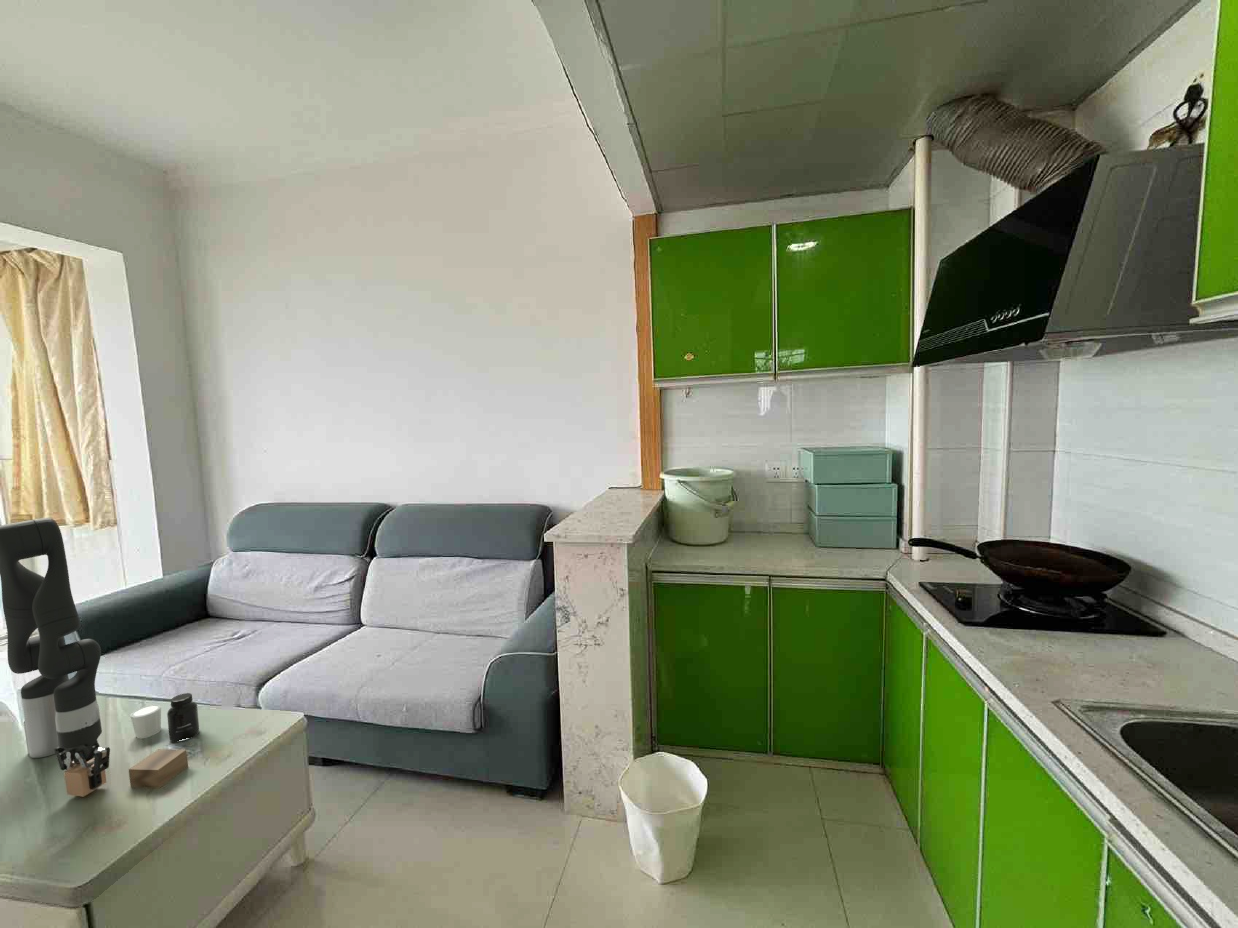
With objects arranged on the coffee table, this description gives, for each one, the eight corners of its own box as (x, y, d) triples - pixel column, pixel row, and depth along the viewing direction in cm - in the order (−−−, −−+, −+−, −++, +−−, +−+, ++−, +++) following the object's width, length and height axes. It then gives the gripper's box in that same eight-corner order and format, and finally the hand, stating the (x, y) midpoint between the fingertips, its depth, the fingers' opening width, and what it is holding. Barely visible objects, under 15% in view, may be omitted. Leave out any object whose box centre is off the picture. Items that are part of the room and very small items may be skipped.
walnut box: (130, 787, 133) (128, 769, 132) (160, 766, 141) (158, 749, 140) (160, 788, 132) (158, 769, 132) (188, 767, 140) (186, 749, 140)
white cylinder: (161, 734, 155) (159, 711, 155) (130, 742, 151) (127, 719, 151) (165, 723, 161) (162, 701, 160) (135, 731, 157) (132, 709, 156)
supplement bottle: (182, 744, 150) (178, 704, 149) (163, 742, 151) (159, 702, 150) (205, 730, 157) (201, 691, 155) (187, 728, 158) (183, 690, 157)
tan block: (67, 794, 129) (64, 771, 128) (90, 780, 134) (87, 758, 133) (83, 796, 128) (80, 773, 127) (106, 782, 133) (103, 760, 132)
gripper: (36, 728, 126) (45, 793, 128) (84, 733, 124) (93, 800, 126) (73, 711, 134) (81, 773, 136) (119, 715, 131) (126, 778, 133)
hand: (86, 785), depth 131 cm, fingers closed on tan block, 5 cm apart
